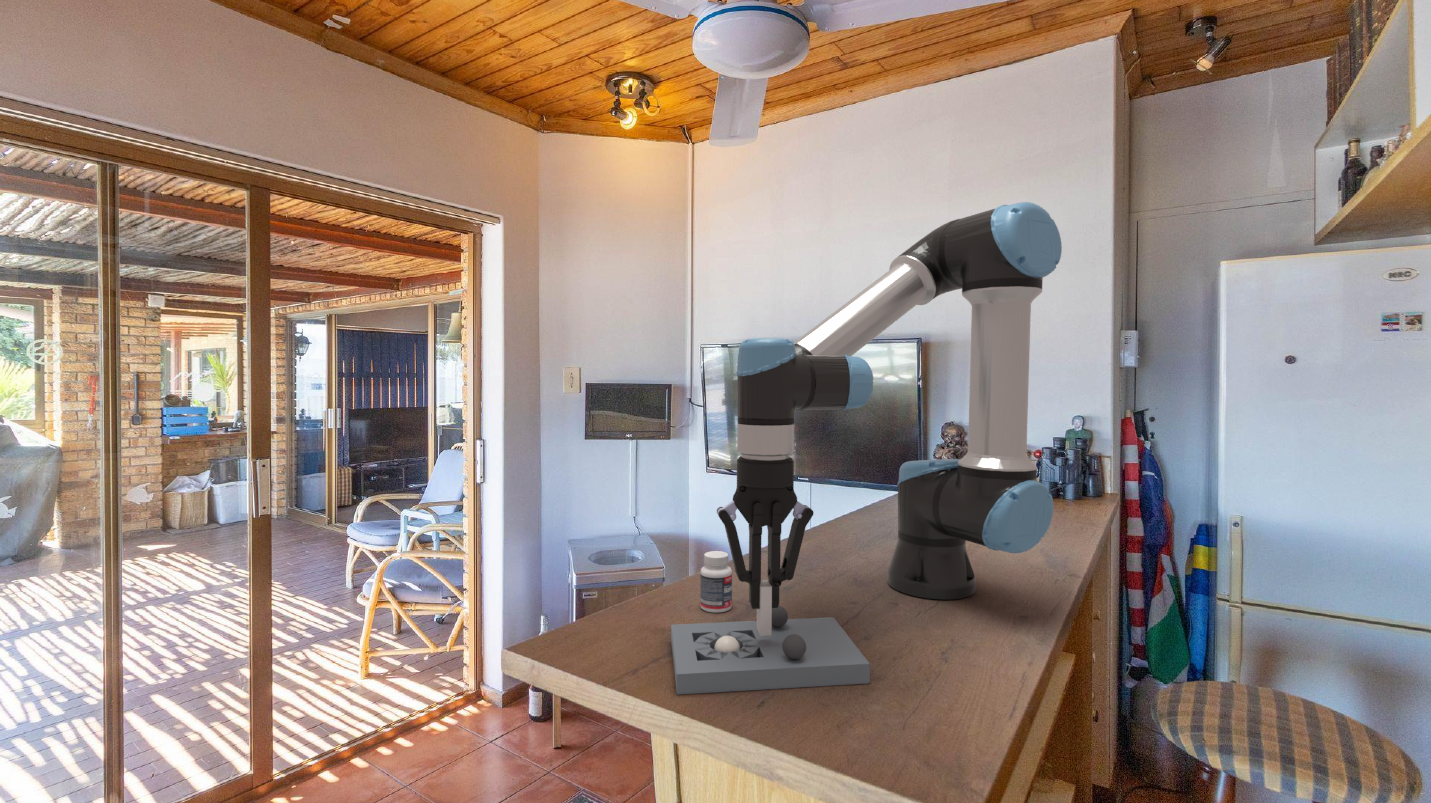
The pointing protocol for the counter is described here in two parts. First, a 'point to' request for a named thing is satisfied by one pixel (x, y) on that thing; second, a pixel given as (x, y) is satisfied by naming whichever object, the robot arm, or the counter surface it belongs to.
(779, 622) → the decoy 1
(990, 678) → the counter surface
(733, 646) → the ball
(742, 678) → the plate
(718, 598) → the pill bottle
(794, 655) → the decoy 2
